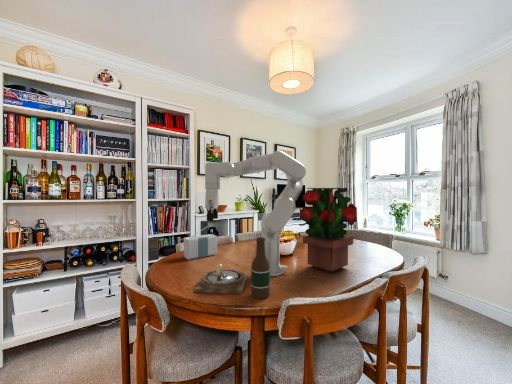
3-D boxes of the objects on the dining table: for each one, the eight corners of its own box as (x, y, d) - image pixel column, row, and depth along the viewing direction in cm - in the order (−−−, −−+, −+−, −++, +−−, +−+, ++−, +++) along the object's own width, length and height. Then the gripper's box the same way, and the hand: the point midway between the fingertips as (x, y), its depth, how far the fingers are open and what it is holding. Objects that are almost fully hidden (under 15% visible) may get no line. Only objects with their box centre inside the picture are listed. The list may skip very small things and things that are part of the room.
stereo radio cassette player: (187, 261, 149) (187, 228, 148) (182, 258, 155) (182, 226, 155) (217, 255, 162) (217, 225, 162) (211, 252, 168) (211, 223, 168)
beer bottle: (269, 291, 105) (269, 236, 105) (270, 299, 97) (270, 239, 97) (251, 291, 105) (251, 236, 104) (251, 299, 97) (251, 239, 97)
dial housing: (246, 276, 122) (246, 268, 122) (241, 293, 103) (241, 284, 102) (207, 275, 124) (207, 267, 124) (195, 292, 104) (195, 283, 104)
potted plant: (333, 278, 121) (334, 187, 120) (299, 266, 138) (299, 187, 137) (356, 268, 135) (356, 188, 134) (322, 259, 152) (323, 188, 152)
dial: (213, 274, 121) (213, 256, 121) (241, 275, 119) (241, 257, 119) (203, 285, 107) (203, 264, 107) (233, 287, 105) (233, 266, 105)
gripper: (209, 186, 134) (209, 217, 134) (200, 186, 117) (200, 222, 117) (223, 186, 133) (223, 217, 134) (215, 186, 116) (215, 222, 116)
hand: (212, 219), depth 125 cm, fingers open, 9 cm apart
